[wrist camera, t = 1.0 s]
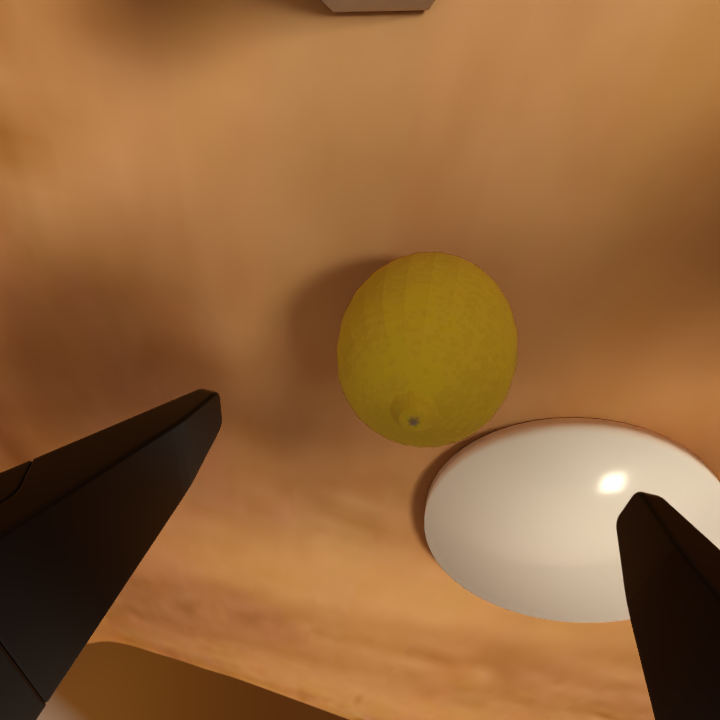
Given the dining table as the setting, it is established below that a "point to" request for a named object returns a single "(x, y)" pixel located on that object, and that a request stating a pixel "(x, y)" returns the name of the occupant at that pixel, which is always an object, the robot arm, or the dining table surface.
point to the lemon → (427, 350)
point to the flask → (377, 5)
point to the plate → (557, 512)
